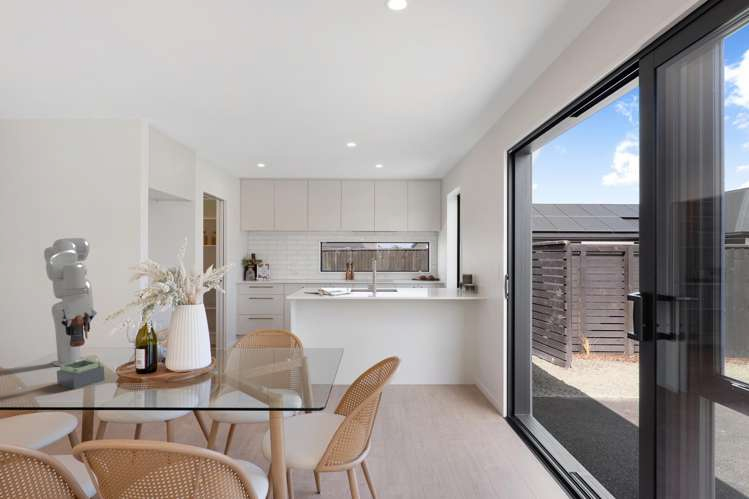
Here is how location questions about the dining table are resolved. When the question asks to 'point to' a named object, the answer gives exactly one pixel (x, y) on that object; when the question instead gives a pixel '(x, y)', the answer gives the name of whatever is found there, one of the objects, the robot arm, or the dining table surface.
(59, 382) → the stand
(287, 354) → the dining table surface
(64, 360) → the robot arm
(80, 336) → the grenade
